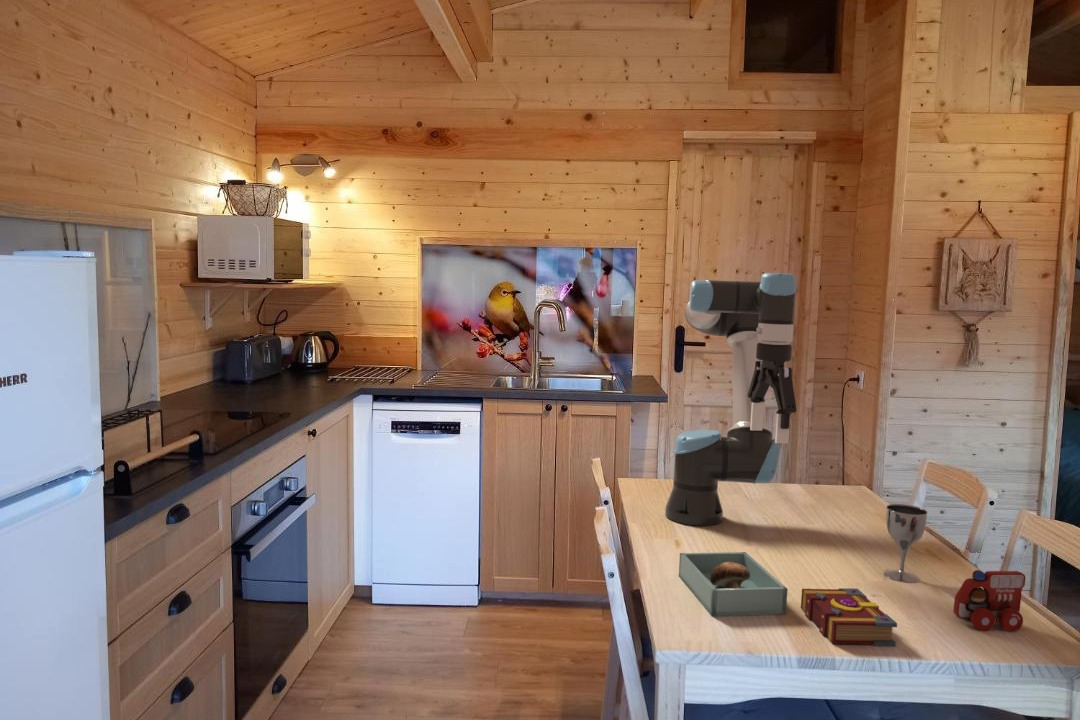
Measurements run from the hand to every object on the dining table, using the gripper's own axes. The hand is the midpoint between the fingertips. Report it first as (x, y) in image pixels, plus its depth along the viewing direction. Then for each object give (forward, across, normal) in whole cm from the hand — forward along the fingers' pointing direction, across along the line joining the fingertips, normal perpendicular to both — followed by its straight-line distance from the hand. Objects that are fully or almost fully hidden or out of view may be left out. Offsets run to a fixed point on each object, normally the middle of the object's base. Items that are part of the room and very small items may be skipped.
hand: (768, 436), depth 169 cm
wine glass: (+28, +13, +27) cm, 41 cm away
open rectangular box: (+28, +20, -15) cm, 38 cm away
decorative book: (+28, +35, +1) cm, 45 cm away
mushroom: (+27, +20, -15) cm, 37 cm away
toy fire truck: (+28, +36, +29) cm, 54 cm away
